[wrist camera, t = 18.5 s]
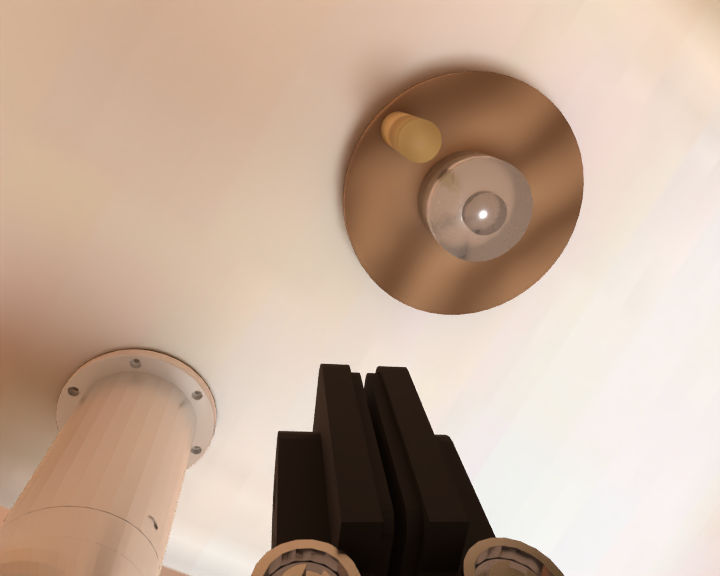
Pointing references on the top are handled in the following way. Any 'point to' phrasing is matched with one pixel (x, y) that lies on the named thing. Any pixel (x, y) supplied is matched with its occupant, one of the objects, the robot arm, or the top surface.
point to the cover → (475, 205)
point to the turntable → (430, 144)
